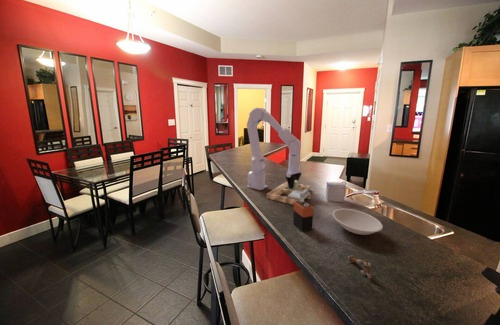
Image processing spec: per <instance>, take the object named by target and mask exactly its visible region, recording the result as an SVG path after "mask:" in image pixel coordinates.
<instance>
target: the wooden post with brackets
mask: <svg viewBox="0 0 500 325" xmlns="http://www.w3.org/2000/svg"><path fill="white" fill-rule="evenodd" d="M347 260H348V263H350V264H351V263H356V264H358V265H360V266H361V265H363V267H364V268H365V269H361V270H360V274H362V275H363V276H367V280H372V273H371V268H370V267H371V266H372V264H371V262H370V261H368V260H367V259H365V260H364V259H358V258H356V257H355V256H354V255H353V254H352V255H347Z"/></svg>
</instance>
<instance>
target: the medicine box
mask: <svg viewBox="0 0 500 325" xmlns="http://www.w3.org/2000/svg"><path fill="white" fill-rule="evenodd" d="M325 186H326V187H325V199H326V202H330V203H331V202H334V203H335V202H336V203H344V202H345V197H346V188H347V186H346V184H345V183H344V182H339V181H338V182H335V181H331V182H330V181H326V185H325Z"/></svg>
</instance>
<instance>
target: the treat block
mask: <svg viewBox="0 0 500 325" xmlns="http://www.w3.org/2000/svg"><path fill="white" fill-rule="evenodd" d="M299 184H300V179H299V180H295V182H294V187H293V189H291V188H289V186H288V188H287V189H288V190H293V191H294V190H297V189H298V188H299Z"/></svg>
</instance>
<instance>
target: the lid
mask: <svg viewBox="0 0 500 325" xmlns="http://www.w3.org/2000/svg"><path fill="white" fill-rule="evenodd" d="M309 194H311V192H310V191H308V189H305V190H304V191H301V190H294V191H293V192H292V193H290V194H289V195H287V197H290V198H294V199H303V200H304V201H305V200H306V197H307V196H308V195H309Z"/></svg>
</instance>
